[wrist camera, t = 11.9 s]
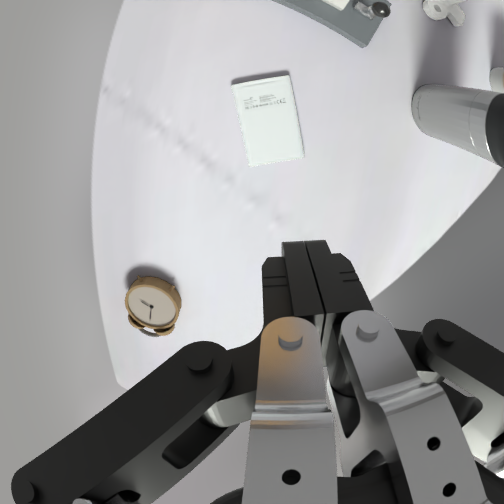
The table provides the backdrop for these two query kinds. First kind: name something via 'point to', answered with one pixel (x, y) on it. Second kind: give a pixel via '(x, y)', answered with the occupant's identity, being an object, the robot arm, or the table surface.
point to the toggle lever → (373, 9)
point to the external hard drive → (268, 120)
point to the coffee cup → (497, 79)
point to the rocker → (337, 3)
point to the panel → (340, 18)
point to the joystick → (445, 10)
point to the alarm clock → (153, 305)
